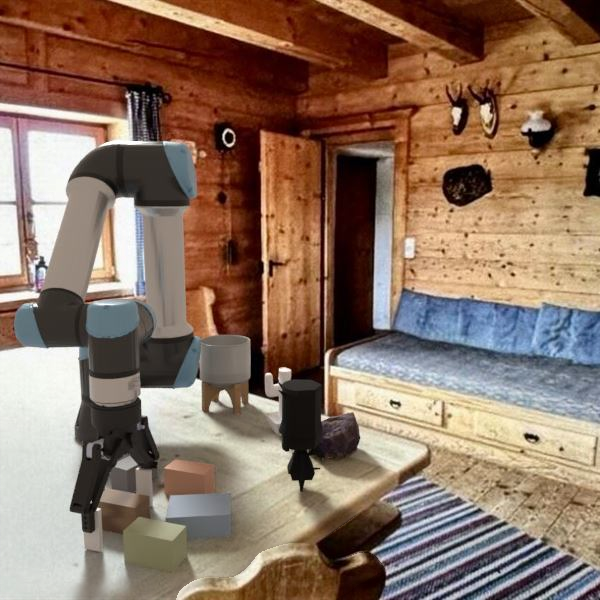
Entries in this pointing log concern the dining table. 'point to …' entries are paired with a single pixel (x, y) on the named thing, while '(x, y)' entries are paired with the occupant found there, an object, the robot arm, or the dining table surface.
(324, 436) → the rock
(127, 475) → the charcoal block
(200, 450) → the dining table surface
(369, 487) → the dining table surface
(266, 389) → the figurine
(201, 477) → the terracotta block
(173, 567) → the olive block
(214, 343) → the planter
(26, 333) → the robot arm
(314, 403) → the toy
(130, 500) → the walnut block
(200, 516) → the slate slab
